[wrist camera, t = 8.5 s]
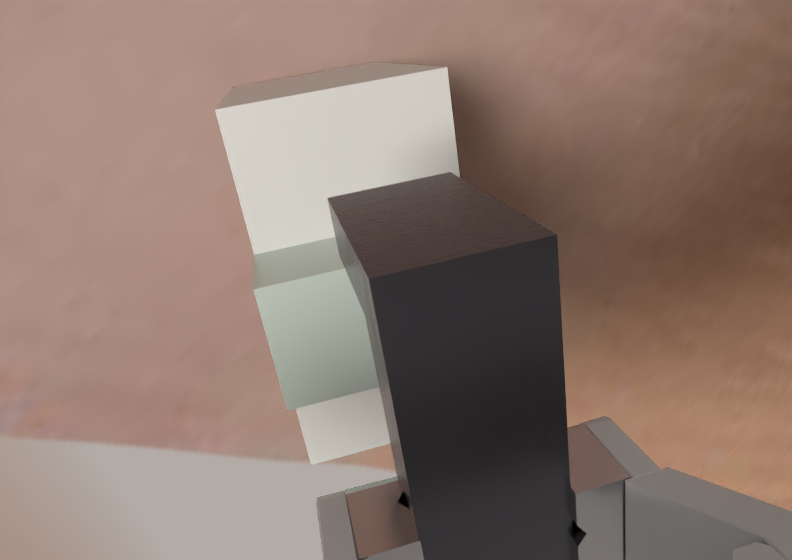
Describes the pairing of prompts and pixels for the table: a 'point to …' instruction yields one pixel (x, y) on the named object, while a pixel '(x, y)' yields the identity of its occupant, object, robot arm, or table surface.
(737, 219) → the table surface
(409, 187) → the frame
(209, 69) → the table surface
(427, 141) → the stand
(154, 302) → the table surface
